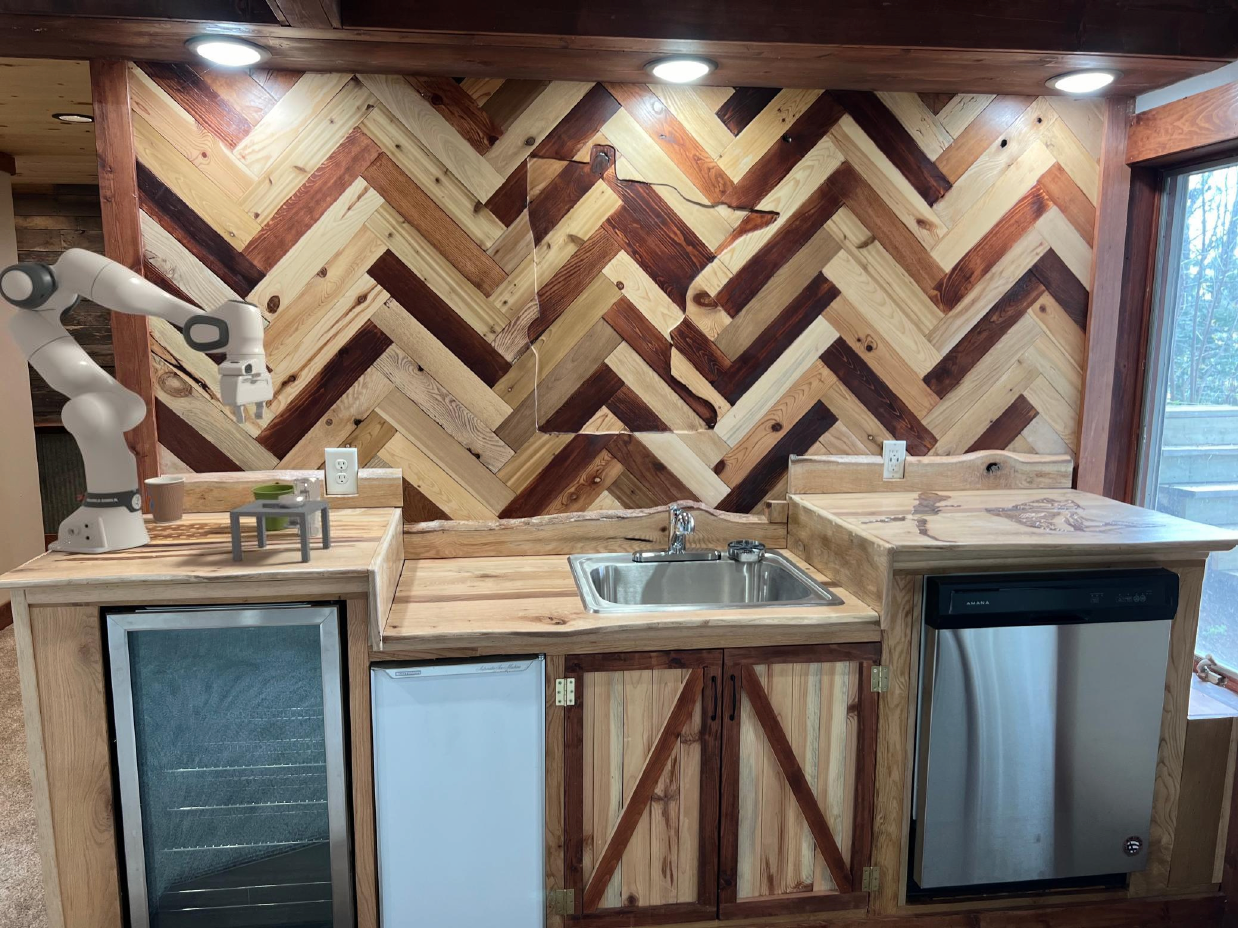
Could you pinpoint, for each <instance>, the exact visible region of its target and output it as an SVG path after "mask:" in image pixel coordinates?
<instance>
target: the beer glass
mask: <svg viewBox="0 0 1238 928" xmlns="http://www.w3.org/2000/svg"><path fill="white" fill-rule="evenodd" d="M292 485H293V494H304V495H305V500H322V490H321V483H320V478H319V477H316V476H315V477H314V476H306V477H297V478H294V479H292ZM320 514H321V510H319V511H317V512H315V513H313V514H311V515H309V516H308V524H309V538H313V536H314V537H317V536H320V535H322V528H321V526H320ZM298 520H299V517H298ZM296 535H297V537H299V536H300V528H298V529H297V533H296Z"/></svg>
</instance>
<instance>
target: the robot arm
mask: <svg viewBox="0 0 1238 928" xmlns="http://www.w3.org/2000/svg"><path fill="white" fill-rule="evenodd" d="M0 296H1V297H2V298H3V299H4V300H5V301H6V302H8V303H9V304H10V305H12V306H14V307H17V308H18V310H17V311H15V312H14V313H13V314H12V315H11V317H9V319H8V321H7V323H6V330H7V332H8V334H9V335H10V337H11V339H12V341H13V343H14V344H15V346H16V347H17V348H18V351H20V353H21V354H22V355H23V356H24V357H25V359H26V360H27V361H28V363H29V364H30V365H31V366H32V367H33V369H35V370H36V372H38V374H39V375H40V376H41V377H42V378H43V380H45V382H46V383H47V384H48V385H49V386H50V387H51V388H52V389H53V390H55V391H57V392H59V393H60V394H63V395H65V396H66V397H67V398H69V399H70V400H69V401H67V402H66V403H65V404H64V406H63V407H62V411H61V421H62V425H63V426H64V428H65V429H66V430H67V432H69V433H70V434H72V436H73V438H74V439H75V441H76V443H77V446H78V448H79V450H80V454H81V455H82V460H83V463H84V470H85V471H84V473H85V478H86V479H85V481H86V488H87V490H86V491H85V492H84V493H82V494H78V495H76V497H78V498H77V501H80V500H82V502H81V506H80V507H79V508H78V509H77V510H76V511H74V512H73V513H71V515H68V517H66V518H65V519H64V520H62V522H61V523H60V524H59V527H58V534H57V537H58V538H57V540H55V541H53V542H51V543H50V544H48V546H47V550H48V551H58V552H70V553H71V552H72V553H83V554H84V553H85V554H100V553H105V552H112V551H118V550H124V549H125V550H126V549H130V548H135V547H141V546H143V545H146V544H148V543H150V542H151V537H150V536H149V533H148V530H147V527H146V525H145V520H144V517H143V511H142V505H143V503H142V500H143V498H142V491H141V487H140V486H139V479H138V478H139V477H138V467H137V458H136V456H135V454H134V453H133V452H132V451H131V450H130V449H129V446H128V444H127V441H126V439H125V436H124V432H128V431H130V430H132V429H134V428H135V427H137V426H139V424H140V423H142V422H143V420H144V419H145V417H146V414H147V405H146V403H145V401H144V399H143V398H142V396H140V395H139V394H138V393H136V392H134V391H132V390H131V389H129V388H126V387H125V386H124V385H122V383H120V382H119V381H118V380H117V379H115V378H114V377H113V376H112V375H110V373H108V372H107V371H105V370H104V369H103V368H101V366H99V365H98V364H97V363H96V362H95V361H94V360H93V359H92V358H91V357H90V356H89V354H88V353H87V352H86V351H85V350H84V349H83V348H82V347H81V346H80V344H79V343H78V342H77V341H76V340H75V338H74V337H73V336H72V335H71V334H70V333H69V332H68V330H66V328H65V327H64V326H63V324H62V323H61V320H62V319H65V318H66V319H67V317H68V316H69V315H70V314H71V311H72V310H73V309H74V308H75V307H76V306H78V305H79V303H80V301H81V300H82V297H84V298H86V299H88V300H90V301H91V302H94V303H96V304H98V305H100V306H102V307H104V308H107V309H109V310H113V311H115V312H119V313H122V314H123V313H124V314H129V315H141V316H148V317H154V318H159V319H163V320H165V321H168V322H170V323H172V324H174V325H177V326H178V327H181V328H182V336H183V341H185V344H186V345H187V346H188V347H189V348H190V349H192V350H193V351H196V352H199V353H204V354H217V353H220V354H226V359H225V360H224V361H223V362H222V363H221V364H219V365H218V366H217V373H218V375H219V376H220V378H219V389H220V399H221V401H222V404H223V406H225V407H232V412H233V414H234V416H235V420H236V421H235V422H236V423H237V424H245V423H246V422H247V416H246V415H245V414H244V411H243V410H244V409H245V406H244V405H250V404H255V406H256V407H255V412H254V413H253V415H254V420H259V421H260V420H264V419H265V415H264V414H265V409H266V402H267V401H273V398H274V388H273V381H272V376H271V374H270V372H268V369H267V364H266V363H267V362H266V361H267V360H266V352H265V349H264V339H265V329H264V324H263V323H264V322H263V317H262V312H261V310H260V307H259V306H258V305H257V304H255V303H253V302H250V301H245V300H239V299H228V300H226V301H224V302H223V303H222V304H220V305H219V306H217V307H215V308H213V309H211V310H207V311H206V310H204V309H202V308H200V307H198V306H195V305H193V304H192V303H190V302H188V301H185V300H183V299H181V298H179V297H177V296H175V295H173V294H170V293H169V292H167V291H165V290H163V289H162V288H161V287H159V286H157V285H155V284H154V283H152V282H151V281H149V280H147V279H146V278H145V277H143V276H141V275H140V274H138V273H136V272H135V271H133V269H130V268H128V267H127V266H125V265H123V264H121V263H119V262H117V261H115V260H112V259H111V258H109V257H106V256H104V255H103V254H98V253H96V252H92V251H90V250H87V249H83V248H77V247H73V248H70V249H68V250H67V249H66V250H65V251H64V252H63V253H62V254H61V255H60V256H59V258H58V260H57V261H56V263H54V264H51V265H49V264H47V263H46V262H20V263H16V264H12V265H10V266H6V267H5V268H4V269H3V270H2V271H1V272H0ZM60 319H61V320H60ZM69 542H70V543H69ZM58 547H60V548H59V549H58Z"/></svg>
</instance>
